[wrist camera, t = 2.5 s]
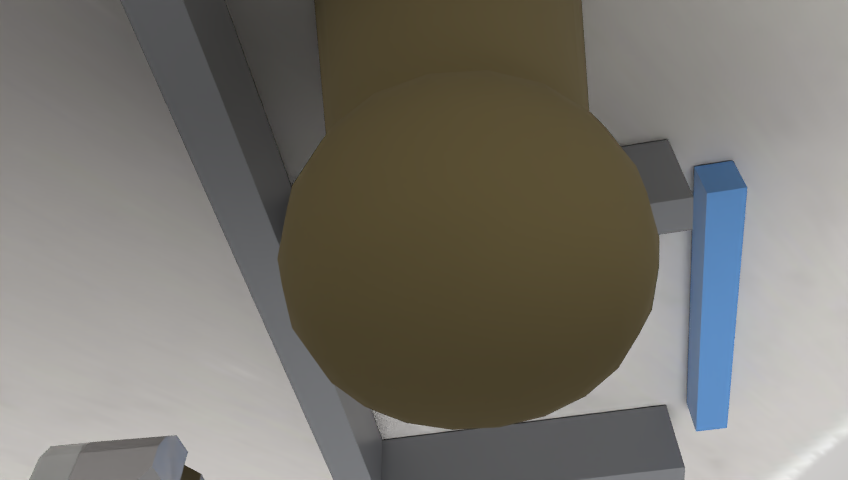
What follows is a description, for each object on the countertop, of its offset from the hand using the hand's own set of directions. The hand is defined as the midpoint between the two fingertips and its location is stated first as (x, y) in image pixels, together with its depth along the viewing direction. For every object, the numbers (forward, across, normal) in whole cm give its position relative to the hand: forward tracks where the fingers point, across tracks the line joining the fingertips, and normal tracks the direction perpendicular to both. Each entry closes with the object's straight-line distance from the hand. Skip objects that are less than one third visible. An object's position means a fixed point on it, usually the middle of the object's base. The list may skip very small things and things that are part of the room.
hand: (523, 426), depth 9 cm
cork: (+12, +1, 0) cm, 12 cm away
